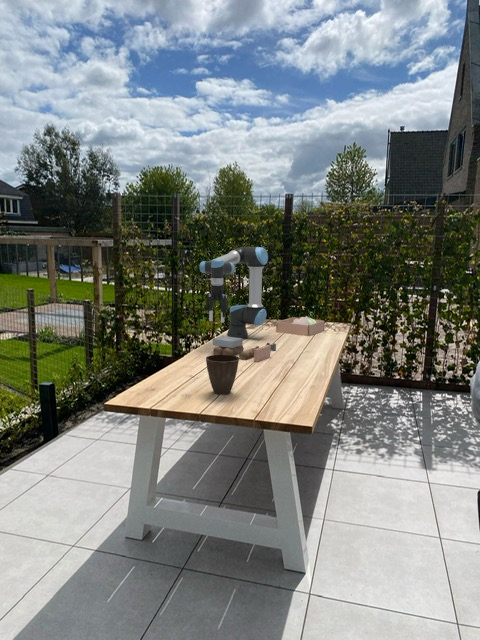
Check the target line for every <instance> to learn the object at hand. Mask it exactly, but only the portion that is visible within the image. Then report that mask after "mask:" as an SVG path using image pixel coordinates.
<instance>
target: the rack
mask: <svg viewBox="0 0 480 640" xmlns="http://www.w3.org/2000/svg"><path fill="white" fill-rule="evenodd" d="M265 344H266V345H265V346H267V345H270V346H271V350H270V352H271V351H272V352H276V351H277V345H276V343H273V344H270V342H266V343H265ZM255 347H257V348H260V346H258V345H256V346H255Z"/></svg>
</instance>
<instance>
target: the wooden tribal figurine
mask: <svg viewBox="0 0 480 640" xmlns="http://www.w3.org/2000/svg"><path fill="white" fill-rule="evenodd" d="M299 318H300V319H295V320H294V321H293V324H302V325H308V323H309V324H310V325H311V324H314V323H316V321H315V320H316V319H314V318H311V317H309V316H307V315H305V316H300V317H299Z"/></svg>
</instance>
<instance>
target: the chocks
mask: <svg viewBox="0 0 480 640" xmlns="http://www.w3.org/2000/svg"><path fill="white" fill-rule="evenodd" d="M239 354H240V353H238V354H235V355H233V356H237V355H239ZM212 355H215V354H214V353H213V354H212ZM221 355H223V354H221ZM250 359H254V356H253V357H250V358H248V359H245V360H244V361H247V360H250ZM239 360H241V359H240V358H239Z"/></svg>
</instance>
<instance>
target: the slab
mask: <svg viewBox="0 0 480 640" xmlns="http://www.w3.org/2000/svg"><path fill="white" fill-rule="evenodd" d="M243 340H244V339H242V338H235V337H228V336H227V335H221V336H218V337H214V338H212V346H215V347H218V346H221V347H227V348H234V347H237V346H241V345H242V346H243Z"/></svg>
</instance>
